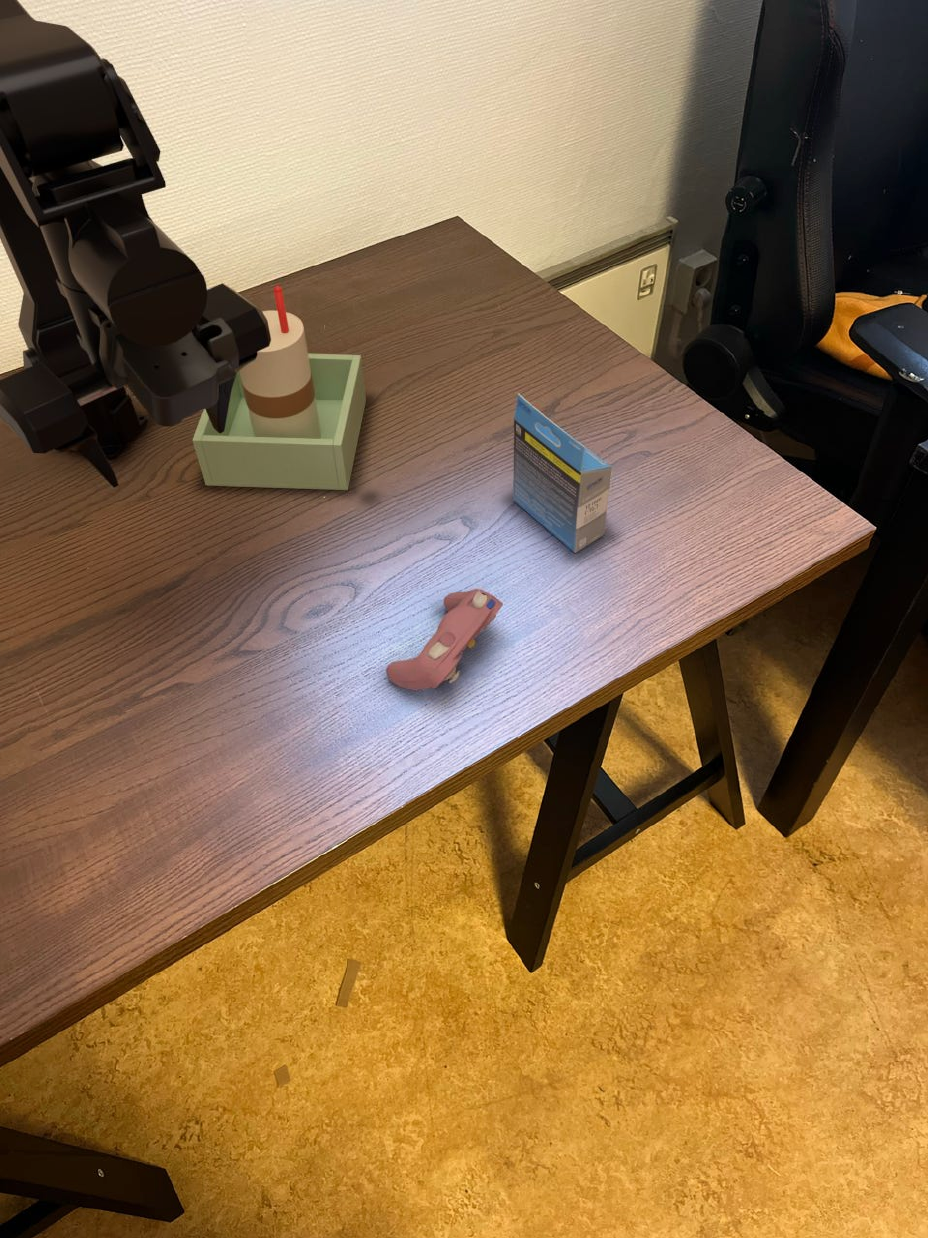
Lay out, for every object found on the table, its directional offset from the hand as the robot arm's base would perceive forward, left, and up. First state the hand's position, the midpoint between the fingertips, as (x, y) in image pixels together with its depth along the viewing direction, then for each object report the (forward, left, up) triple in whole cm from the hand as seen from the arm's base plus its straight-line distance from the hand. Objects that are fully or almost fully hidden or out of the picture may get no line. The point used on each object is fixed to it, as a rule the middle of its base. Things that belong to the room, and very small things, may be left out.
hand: (167, 456), depth 72 cm
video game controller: (+23, -2, -13) cm, 27 cm away
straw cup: (-1, +18, -12) cm, 22 cm away
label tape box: (+27, +16, -13) cm, 34 cm away
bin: (-1, +18, -13) cm, 22 cm away
